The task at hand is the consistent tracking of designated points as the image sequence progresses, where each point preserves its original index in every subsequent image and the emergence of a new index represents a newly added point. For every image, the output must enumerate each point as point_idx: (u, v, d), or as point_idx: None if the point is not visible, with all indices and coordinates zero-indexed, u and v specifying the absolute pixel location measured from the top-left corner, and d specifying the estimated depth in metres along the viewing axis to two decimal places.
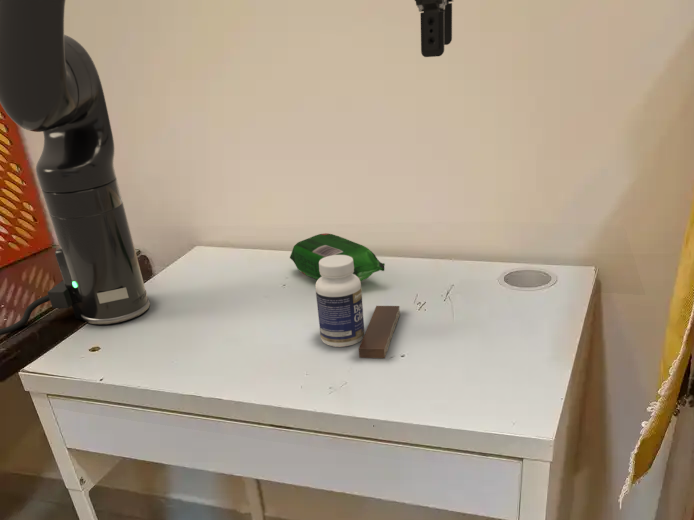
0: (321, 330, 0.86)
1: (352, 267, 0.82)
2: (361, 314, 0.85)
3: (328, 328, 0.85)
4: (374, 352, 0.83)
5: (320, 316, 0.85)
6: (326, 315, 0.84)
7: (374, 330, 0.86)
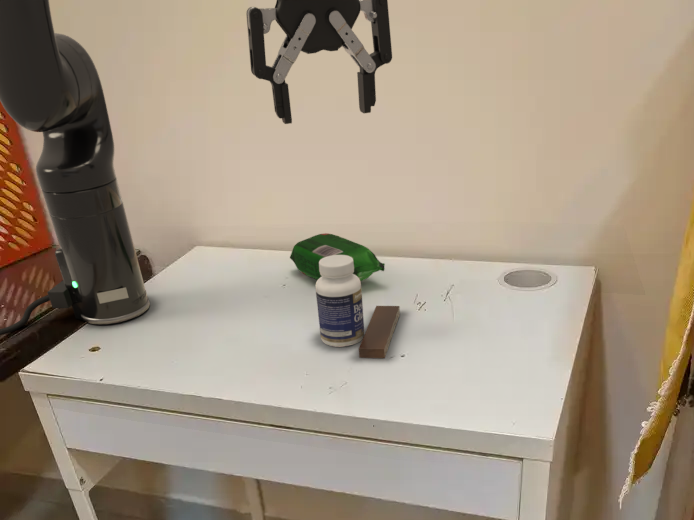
0: (321, 330, 0.86)
1: (352, 267, 0.82)
2: (361, 314, 0.85)
3: (328, 328, 0.85)
4: (374, 352, 0.83)
5: (320, 316, 0.85)
6: (326, 315, 0.84)
7: (374, 330, 0.86)
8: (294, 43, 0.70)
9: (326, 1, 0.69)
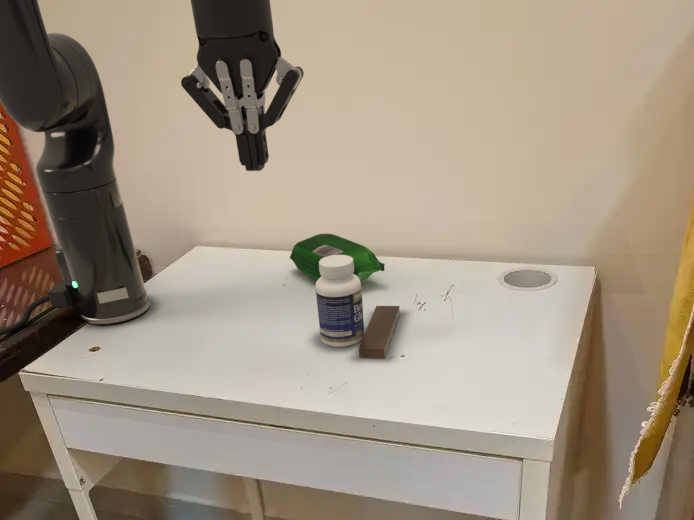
0: (321, 330, 0.86)
1: (352, 267, 0.82)
2: (361, 314, 0.85)
3: (328, 328, 0.85)
4: (374, 352, 0.83)
5: (320, 316, 0.85)
6: (326, 315, 0.84)
7: (374, 330, 0.86)
8: (225, 94, 0.72)
9: (240, 49, 0.70)
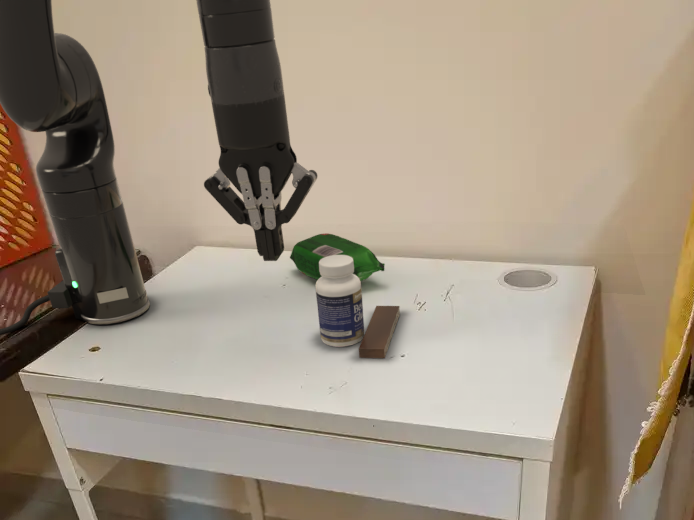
0: (321, 330, 0.86)
1: (352, 267, 0.82)
2: (361, 314, 0.85)
3: (328, 328, 0.85)
4: (374, 352, 0.83)
5: (320, 316, 0.85)
6: (326, 315, 0.84)
7: (374, 330, 0.86)
8: (245, 195, 0.78)
9: (259, 156, 0.76)
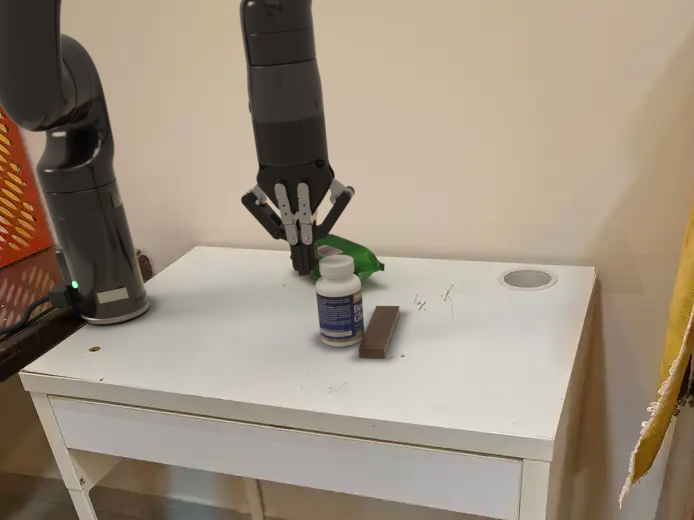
0: (321, 330, 0.86)
1: (352, 267, 0.82)
2: (361, 314, 0.85)
3: (328, 328, 0.85)
4: (374, 352, 0.83)
5: (320, 316, 0.85)
6: (326, 315, 0.84)
7: (374, 330, 0.86)
8: (283, 211, 0.78)
9: (298, 173, 0.76)
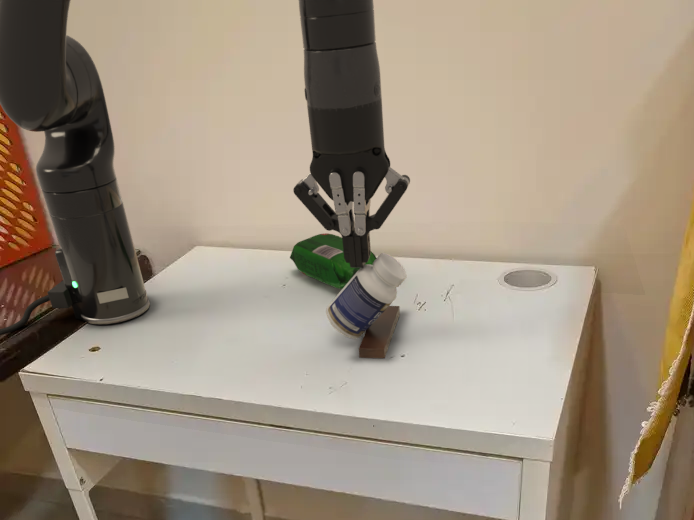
0: (334, 307, 0.84)
1: None
2: (375, 320, 0.85)
3: (344, 313, 0.83)
4: (374, 352, 0.83)
5: (344, 297, 0.83)
6: (351, 302, 0.82)
7: (374, 330, 0.86)
8: (336, 201, 0.77)
9: (353, 161, 0.74)
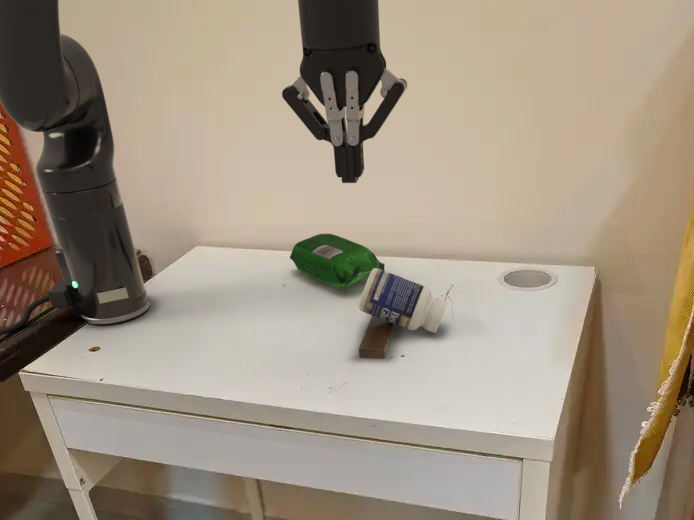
0: (386, 272, 0.85)
1: (430, 329, 0.86)
2: (384, 316, 0.86)
3: (389, 280, 0.84)
4: (374, 352, 0.83)
5: (401, 278, 0.85)
6: (402, 284, 0.84)
7: (374, 330, 0.86)
8: (328, 105, 0.71)
9: (347, 60, 0.69)
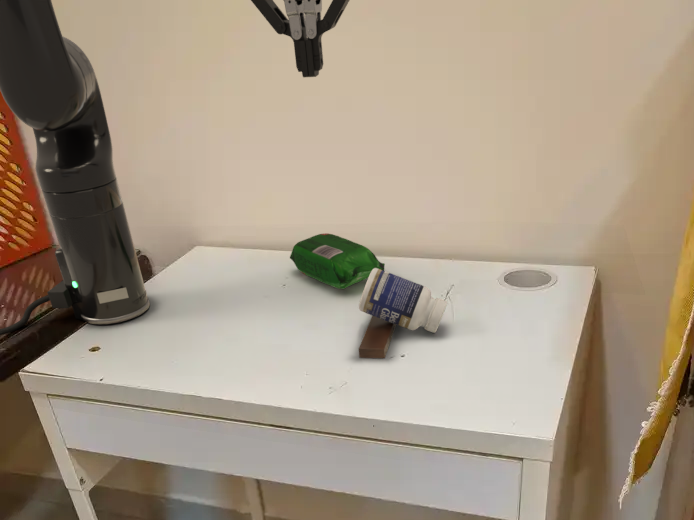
0: (386, 272, 0.85)
1: (430, 329, 0.86)
2: (384, 316, 0.86)
3: (389, 280, 0.84)
4: (374, 352, 0.83)
5: (401, 278, 0.85)
6: (402, 284, 0.84)
7: (374, 330, 0.86)
8: None
9: None
